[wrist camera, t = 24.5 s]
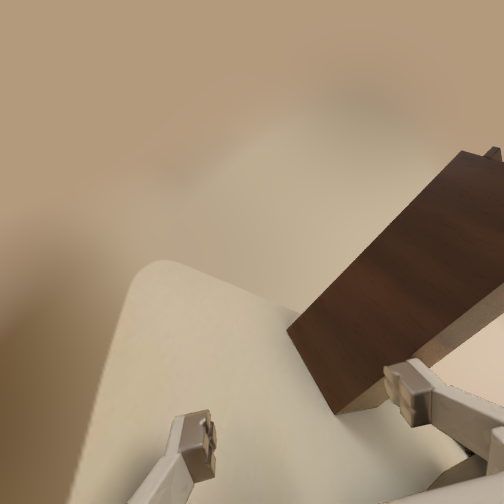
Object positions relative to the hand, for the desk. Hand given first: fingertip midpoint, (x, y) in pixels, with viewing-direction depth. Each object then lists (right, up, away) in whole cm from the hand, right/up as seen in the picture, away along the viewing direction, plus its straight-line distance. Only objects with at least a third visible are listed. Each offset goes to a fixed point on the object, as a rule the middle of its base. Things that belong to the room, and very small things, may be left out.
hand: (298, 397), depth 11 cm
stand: (+8, -8, +19) cm, 22 cm away
